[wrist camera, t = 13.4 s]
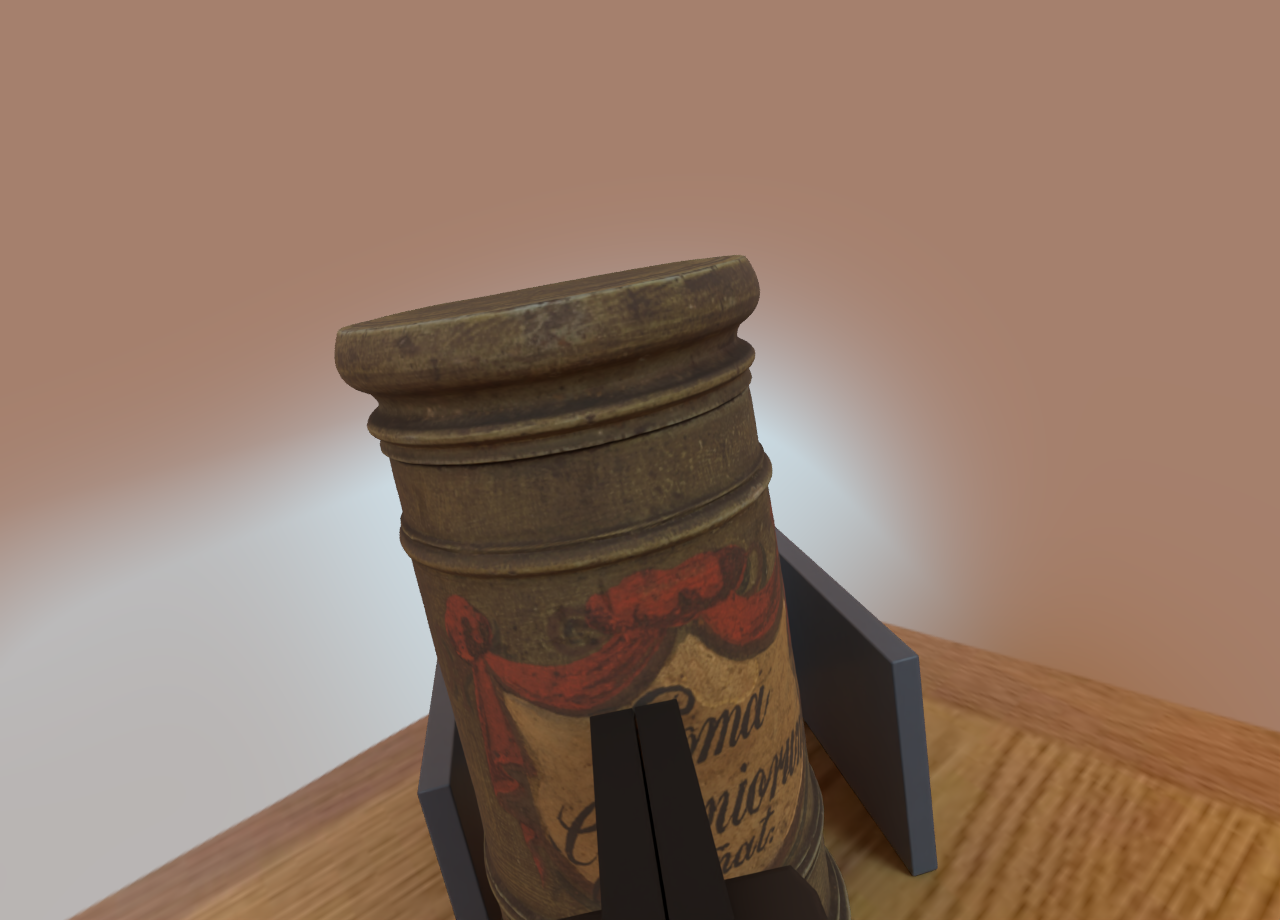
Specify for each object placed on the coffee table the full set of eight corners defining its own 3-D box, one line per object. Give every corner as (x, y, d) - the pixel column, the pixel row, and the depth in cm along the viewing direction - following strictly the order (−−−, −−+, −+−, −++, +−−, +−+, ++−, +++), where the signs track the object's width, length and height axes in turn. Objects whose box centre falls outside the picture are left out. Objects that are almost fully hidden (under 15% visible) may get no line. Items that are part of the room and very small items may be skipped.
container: (466, 966, 21) (272, 335, 17) (712, 803, 26) (615, 267, 21) (637, 1301, 14) (374, 330, 9) (942, 992, 18) (872, 227, 14)
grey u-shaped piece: (938, 869, 22) (919, 655, 20) (484, 1013, 20) (416, 793, 18) (786, 666, 33) (765, 517, 31) (488, 746, 31) (446, 594, 29)
